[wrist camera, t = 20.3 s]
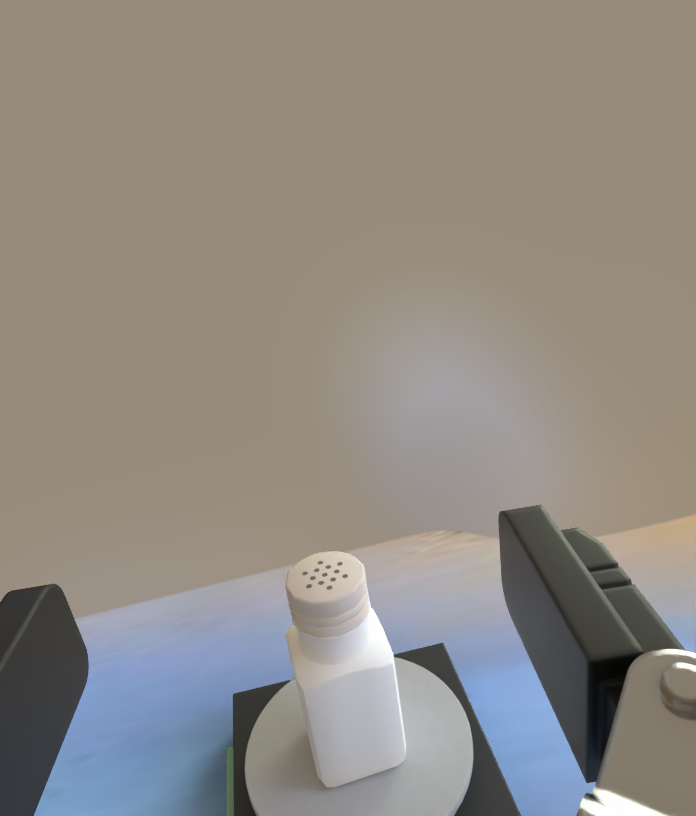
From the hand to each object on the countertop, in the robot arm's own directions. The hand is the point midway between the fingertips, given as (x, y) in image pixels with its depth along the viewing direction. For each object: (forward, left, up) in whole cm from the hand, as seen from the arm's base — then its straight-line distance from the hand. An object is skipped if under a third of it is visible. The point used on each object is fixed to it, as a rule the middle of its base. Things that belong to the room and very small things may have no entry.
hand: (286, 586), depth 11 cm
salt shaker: (-1, -11, -18) cm, 21 cm away
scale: (-1, -11, -22) cm, 24 cm away
